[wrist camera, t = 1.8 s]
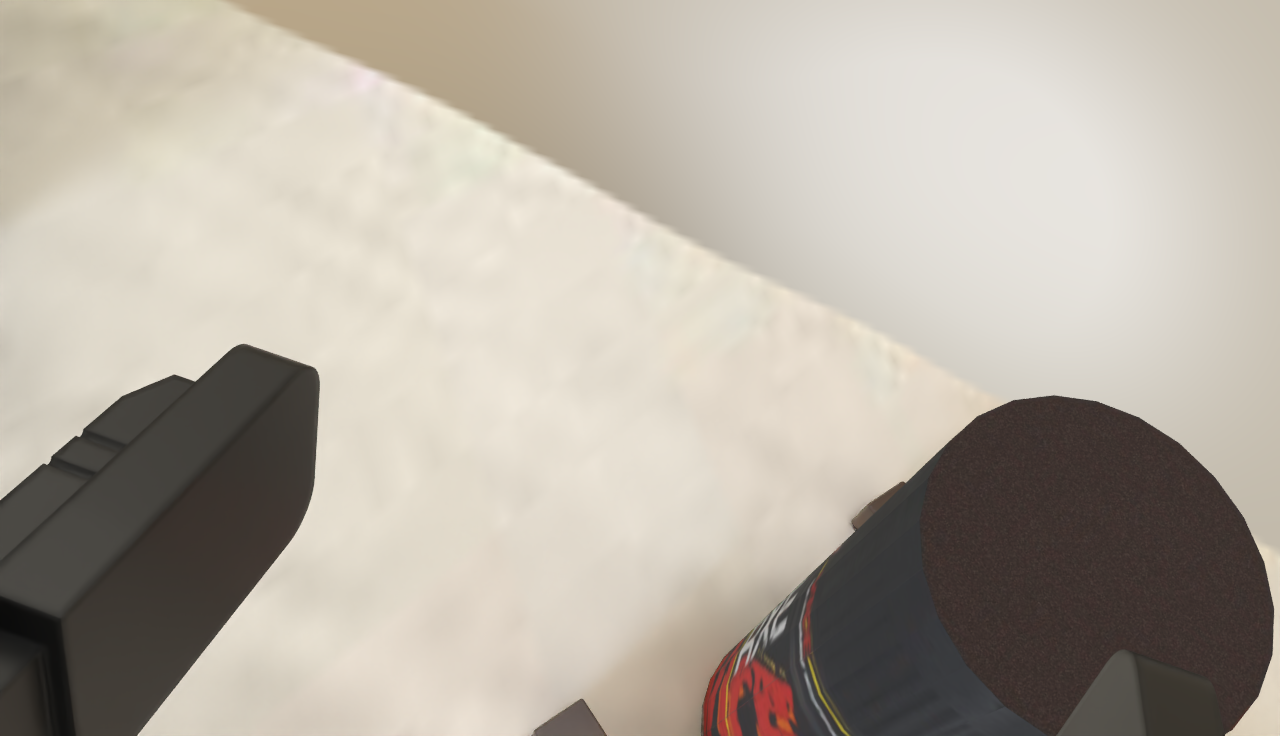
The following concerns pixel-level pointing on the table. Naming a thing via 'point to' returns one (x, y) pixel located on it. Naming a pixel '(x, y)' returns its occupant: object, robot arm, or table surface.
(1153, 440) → the deodorant
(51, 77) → the table surface
